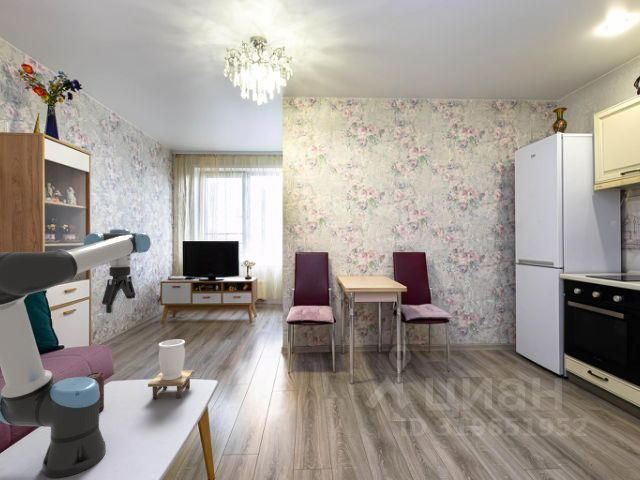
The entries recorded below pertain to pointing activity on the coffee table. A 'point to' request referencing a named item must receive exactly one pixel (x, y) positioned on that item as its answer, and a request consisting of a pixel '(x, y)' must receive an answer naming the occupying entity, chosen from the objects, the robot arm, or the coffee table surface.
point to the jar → (171, 358)
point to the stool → (171, 383)
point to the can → (100, 379)
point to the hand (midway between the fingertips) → (119, 317)
